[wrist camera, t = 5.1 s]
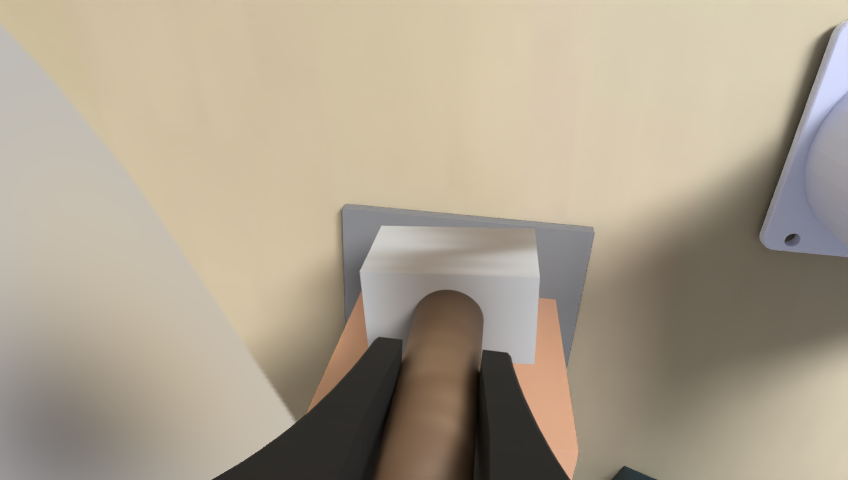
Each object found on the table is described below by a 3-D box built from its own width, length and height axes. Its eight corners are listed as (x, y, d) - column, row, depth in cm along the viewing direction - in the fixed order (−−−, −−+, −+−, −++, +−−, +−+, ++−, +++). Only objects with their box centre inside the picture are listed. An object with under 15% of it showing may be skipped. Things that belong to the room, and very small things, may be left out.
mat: (592, 227, 21) (594, 232, 21) (539, 487, 28) (540, 495, 28) (345, 203, 22) (342, 208, 22) (351, 460, 29) (349, 468, 29)
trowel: (534, 228, 17) (564, 509, 8) (530, 307, 19) (551, 620, 10) (381, 225, 18) (260, 482, 9) (388, 301, 19) (288, 587, 10)
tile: (555, 299, 22) (578, 452, 15) (550, 331, 23) (569, 490, 16) (366, 279, 23) (305, 414, 16) (367, 310, 24) (308, 453, 17)
